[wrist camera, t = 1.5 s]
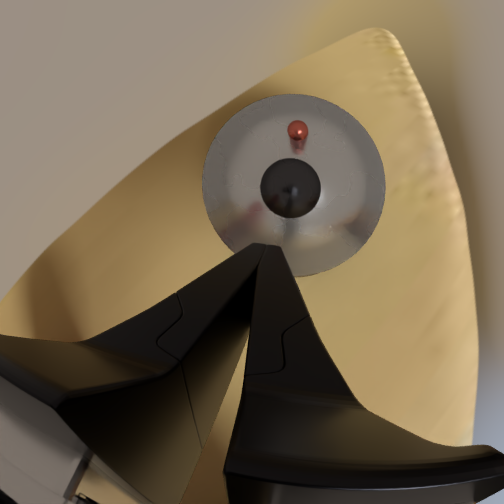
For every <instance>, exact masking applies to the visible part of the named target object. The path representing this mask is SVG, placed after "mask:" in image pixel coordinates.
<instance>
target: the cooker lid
mask: <svg viewBox="0 0 504 504" xmlns="http://www.w3.org/2000/svg"><path fill="white" fill-rule="evenodd" d="M202 190H203V199H204V203H205V207H206V211H207V214H208V216H209V219H210V221H211V223H212V225H213V227H214V229H215V231H216V232H217V234H218V235H219V237H220V238H221V240H222V241H223V242H224V243H225V244H226V245H227V246H228V248H229V249H230V250H231V251H233V252H234V253H235V254H236V253H237V252H239V251H240V250H242V249H243V248H245V247H247V246H248V245H250V244H251V243H254V242H255V243H262V244H266V245H276V246H280V247H281V248H282V250H283V253H284V255H285V257H286V259H287V262H288V264H289V266H290V269H291V271H292V274H293V276H305V275H312V274H317V273H320V272H324V271H327V270H329V269H332V268H334V267H336V266H338V265H340V264H341V263H343V262H345V261H346V260H348V259H349V258H350V257H352V256H353V255H354V254H355V253H357V252H358V251H359V250H360V248H361V247H362V246H363V245H364V244H365V243H366V242H367V240H368V239H369V237H370V236H371V235H372V233H373V231H374V229H375V227H376V226H377V224H378V221H379V218H380V216H381V213H382V209H383V205H384V200H385V174H384V168H383V163H382V160H381V157H380V154H379V152H378V150H377V147H376V145H375V143H374V141H373V140H372V138H371V137H370V135H369V134H368V132H367V131H366V130H365V128H364V127H363V126H362V125H361V124H360V123H359V122H358V121H357V120H356V119H355V118H354V117H353V116H352V115H350V114H349V113H348V112H346V111H345V110H343V109H342V108H340V107H339V106H337V105H335V104H333V103H331V102H329V101H326V100H323V99H320V98H317V97H313V96H308V95H302V94H284V95H276V96H272V97H267V98H264V99H261V100H259V101H256V102H254V103H252V104H250V105H248V106H246V107H245V108H243V109H242V110H240V111H239V112H237V113H236V114H235V115H233V116H232V117H231V118H230V119H229V120H228V121H227V122H226V123H225V124H224V126H223V127H222V128H221V129H220V131H219V132H218V133H217V135H216V137H215V138H214V140H213V142H212V144H211V146H210V148H209V151H208V153H207V156H206V160H205V163H204V169H203V176H202Z"/></svg>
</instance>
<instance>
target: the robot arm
mask: <svg viewBox="0 0 504 504" xmlns="http://www.w3.org/2000/svg"><path fill="white" fill-rule="evenodd" d="M248 335H249V338H248ZM247 338H248V347H247V355H246V363H245V371H244V380H243V387H242V394H241V399H240V404H239V408H238V412H237V416H236V420H235V424H234V428H233V432H232V436H231V440H230V444H229V448H228V452H227V456H226V460H225V464H224V469H223V478H224V484H225V489H226V495H227V501H228V504H476V503H478V502H480V501H481V500H483V499H485V498H487V497H489V496H491V495H493V494H495V493H496V492H498V491H500V490H502V489H504V454H503V453H501V452H499V451H498V450H496V449H495V448H493V447H491V446H489V445H471V446H460V447H453V446H445V445H441V444H437V443H433V442H431V441H428V440H426V439H423V438H421V437H419V436H417V435H415V434H413V433H411V432H409V431H407V430H405V429H403V428H401V427H399V426H397V425H395V424H393V423H391V422H389V421H387V420H385V419H383V418H381V417H379V416H378V415H376V414H374V413H372V412H370V411H368V410H367V409H366V408H365V407H364V406H363V405H362V404H361V403H360V402H359V401H358V400H357V399H356V397H355V396H354V394H353V393H352V391H351V390H350V388H349V386H348V385H347V383H346V381H345V380H344V378H343V376H342V375H341V373H340V371H339V370H338V368H337V367H336V365H335V363H334V362H333V360H332V358H331V357H330V355H329V353H328V351H327V350H326V348H325V346H324V344H323V343H322V341H321V339H320V337H319V334H318V332H317V330H316V328H315V326H314V323H313V321H312V318H311V317H310V314H309V312H308V309H307V307H306V304H305V302H304V300H303V297H302V295H301V292H300V290H299V288H298V285H297V283H296V281H295V278H294V276H293V274H292V271H291V269H290V266H289V264H288V262H287V259H286V257H285V255H284V253H283V250H282V248H281V247H280V246H276V245H266V244H262V243H255V242H254V243H251V244H250V245H248V246H247V247H245V248H243V249H242V250H240V251H239V252H237V253H236V254H234V255H232V256H231V257H229V258H228V259H226V260H225V261H223V262H222V263H220V264H218V265H217V266H215V267H214V268H212V269H211V270H209V271H208V272H206V273H204V274H203V275H201V276H200V277H198V278H197V279H195V280H194V281H192V282H190V283H189V284H187V285H186V286H184V287H183V288H181V289H180V290H178V291H177V292H176V293H173V294H172V295H170V296H169V297H167V298H165V299H164V300H162V301H161V302H159V303H157V304H156V305H154V306H152V307H151V308H149V309H147V310H145V311H143V312H142V313H140V314H138V315H136V316H134V317H132V318H130V319H128V320H126V321H124V322H122V323H120V324H118V325H116V326H115V327H113V328H111V329H109V330H107V331H105V332H103V333H101V334H99V335H97V336H95V337H92V338H90V339H87V340H84V341H80V342H57V341H47V340H38V339H30V338H21V337H14V336H7V335H1V334H0V504H180V502H181V499H182V497H183V495H184V493H185V490H186V488H187V486H188V483H189V481H190V479H191V476H192V474H193V472H194V469H195V467H196V465H197V462H198V460H199V457H200V455H201V453H202V449H203V448H204V445H205V443H206V440H207V438H208V436H209V433H210V431H211V428H212V426H213V423H214V421H215V419H216V416H217V414H218V411H219V409H220V406H221V404H222V401H223V399H224V396H225V394H226V391H227V389H228V386H229V384H230V381H231V379H232V376H233V374H234V371H235V369H236V366H237V364H238V361H239V359H240V356H241V353H242V351H243V348H244V346H245V343H246V341H247Z"/></svg>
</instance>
